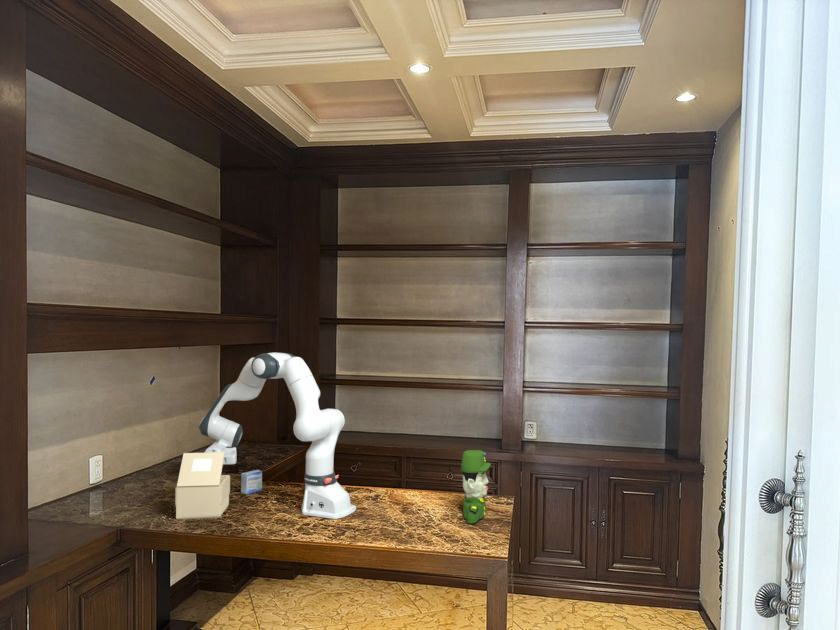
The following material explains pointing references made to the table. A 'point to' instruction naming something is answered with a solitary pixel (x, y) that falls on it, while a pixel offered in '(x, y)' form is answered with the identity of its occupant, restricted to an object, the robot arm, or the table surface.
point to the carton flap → (201, 469)
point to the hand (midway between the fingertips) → (206, 463)
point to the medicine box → (251, 481)
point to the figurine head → (474, 484)
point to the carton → (202, 500)
